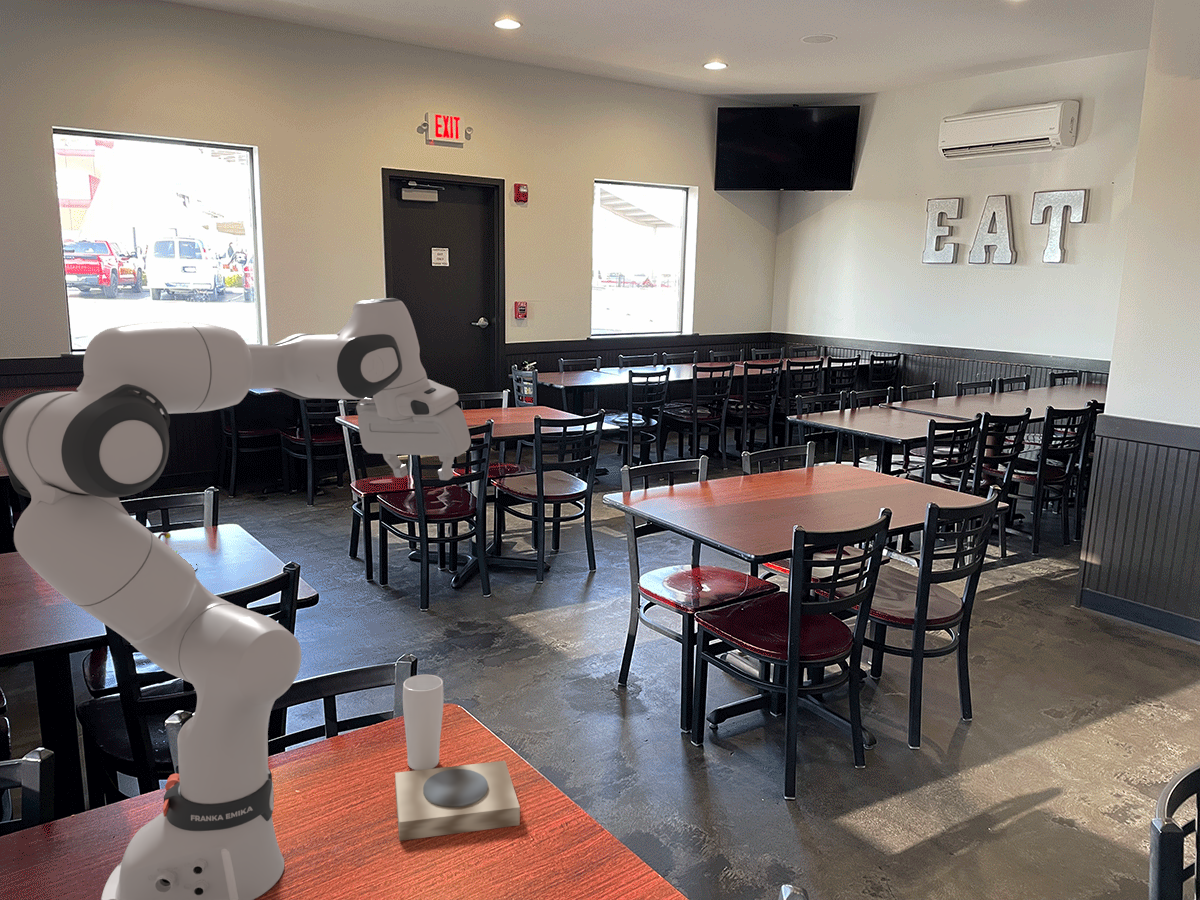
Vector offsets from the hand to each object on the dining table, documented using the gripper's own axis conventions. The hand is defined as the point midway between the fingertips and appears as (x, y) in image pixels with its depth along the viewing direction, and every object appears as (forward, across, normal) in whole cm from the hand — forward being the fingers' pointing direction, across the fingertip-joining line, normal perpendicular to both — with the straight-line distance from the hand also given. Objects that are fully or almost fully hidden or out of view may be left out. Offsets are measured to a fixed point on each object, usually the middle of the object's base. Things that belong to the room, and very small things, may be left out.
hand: (423, 477), depth 144 cm
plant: (+50, -134, +29) cm, 146 cm away
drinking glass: (+48, -4, -14) cm, 50 cm away
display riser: (+47, +9, -22) cm, 53 cm away
